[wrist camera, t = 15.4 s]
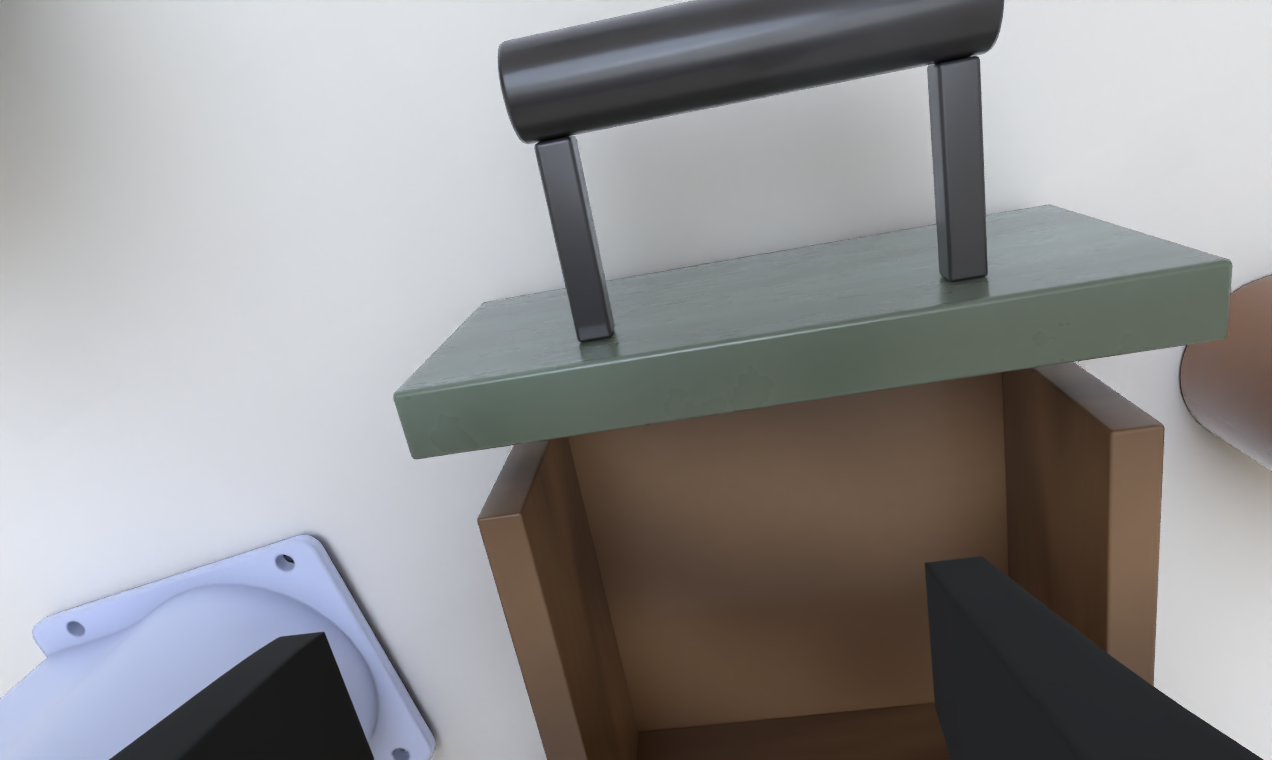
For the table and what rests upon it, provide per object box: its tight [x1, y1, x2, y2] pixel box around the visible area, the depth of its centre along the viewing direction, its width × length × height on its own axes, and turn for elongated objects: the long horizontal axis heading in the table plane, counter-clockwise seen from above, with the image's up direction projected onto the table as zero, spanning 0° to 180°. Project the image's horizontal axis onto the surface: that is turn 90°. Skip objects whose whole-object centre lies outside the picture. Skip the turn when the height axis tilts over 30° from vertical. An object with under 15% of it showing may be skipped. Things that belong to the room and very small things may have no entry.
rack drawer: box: [393, 0, 1232, 760], centre depth 15 cm, size 17×12×6 cm
